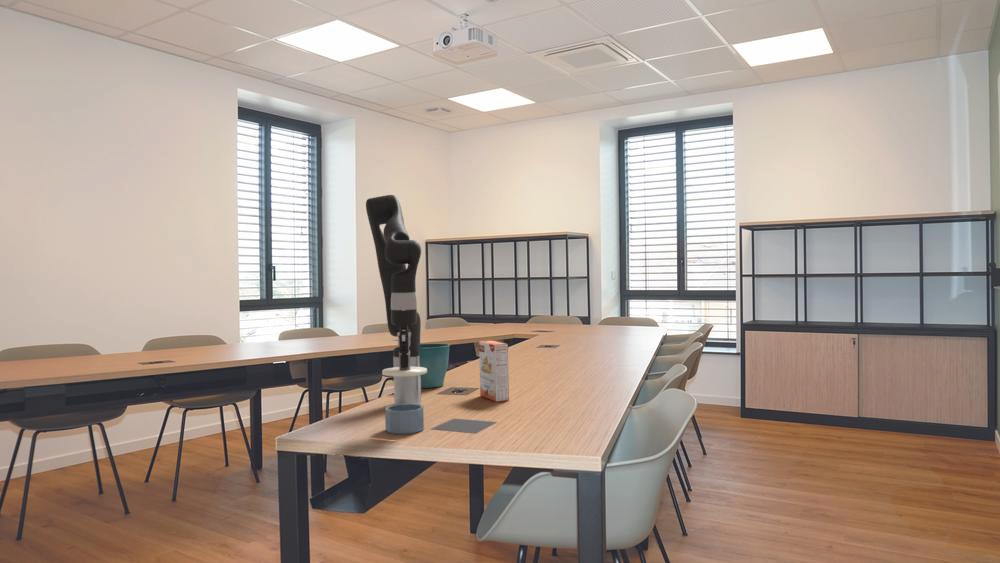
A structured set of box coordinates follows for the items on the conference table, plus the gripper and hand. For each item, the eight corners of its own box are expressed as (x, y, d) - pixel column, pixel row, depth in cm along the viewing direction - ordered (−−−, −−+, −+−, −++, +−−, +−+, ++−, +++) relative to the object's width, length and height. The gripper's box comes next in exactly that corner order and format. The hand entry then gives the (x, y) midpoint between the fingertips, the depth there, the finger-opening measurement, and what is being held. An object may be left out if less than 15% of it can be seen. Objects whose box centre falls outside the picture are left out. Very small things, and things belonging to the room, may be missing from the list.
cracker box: (479, 396, 243) (478, 340, 243) (493, 394, 246) (492, 340, 246) (494, 402, 231) (493, 344, 230) (509, 401, 233) (508, 343, 233)
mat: (453, 419, 204) (453, 418, 204) (497, 423, 198) (497, 422, 198) (430, 430, 190) (430, 429, 190) (475, 434, 184) (475, 433, 184)
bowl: (399, 425, 197) (398, 402, 197) (430, 428, 192) (430, 405, 192) (378, 434, 187) (378, 409, 187) (411, 437, 182) (410, 412, 182)
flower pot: (398, 386, 268) (397, 345, 268) (433, 381, 280) (432, 342, 280) (423, 391, 255) (423, 348, 255) (459, 385, 267) (458, 344, 267)
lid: (397, 369, 198) (397, 347, 198) (434, 370, 193) (434, 349, 193) (373, 375, 186) (373, 352, 186) (412, 377, 181) (412, 354, 181)
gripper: (392, 307, 196) (393, 363, 196) (389, 309, 182) (390, 370, 182) (416, 306, 197) (417, 363, 197) (416, 309, 183) (417, 369, 183)
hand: (404, 366), depth 189 cm, fingers closed on lid, 3 cm apart
